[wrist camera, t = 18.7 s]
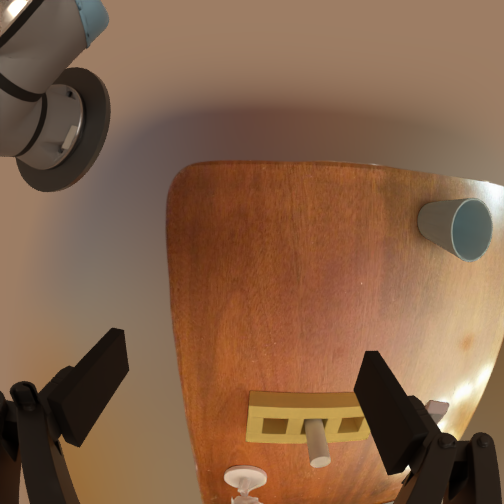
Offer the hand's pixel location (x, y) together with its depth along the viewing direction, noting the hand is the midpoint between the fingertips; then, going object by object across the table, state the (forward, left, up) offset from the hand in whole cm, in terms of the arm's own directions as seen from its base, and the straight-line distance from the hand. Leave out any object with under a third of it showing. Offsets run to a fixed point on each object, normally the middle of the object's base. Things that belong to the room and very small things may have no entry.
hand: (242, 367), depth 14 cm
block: (+12, -26, -25) cm, 38 cm away
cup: (+26, +8, -25) cm, 37 cm away
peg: (+12, -26, -25) cm, 38 cm away
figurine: (+2, -48, -25) cm, 54 cm away
